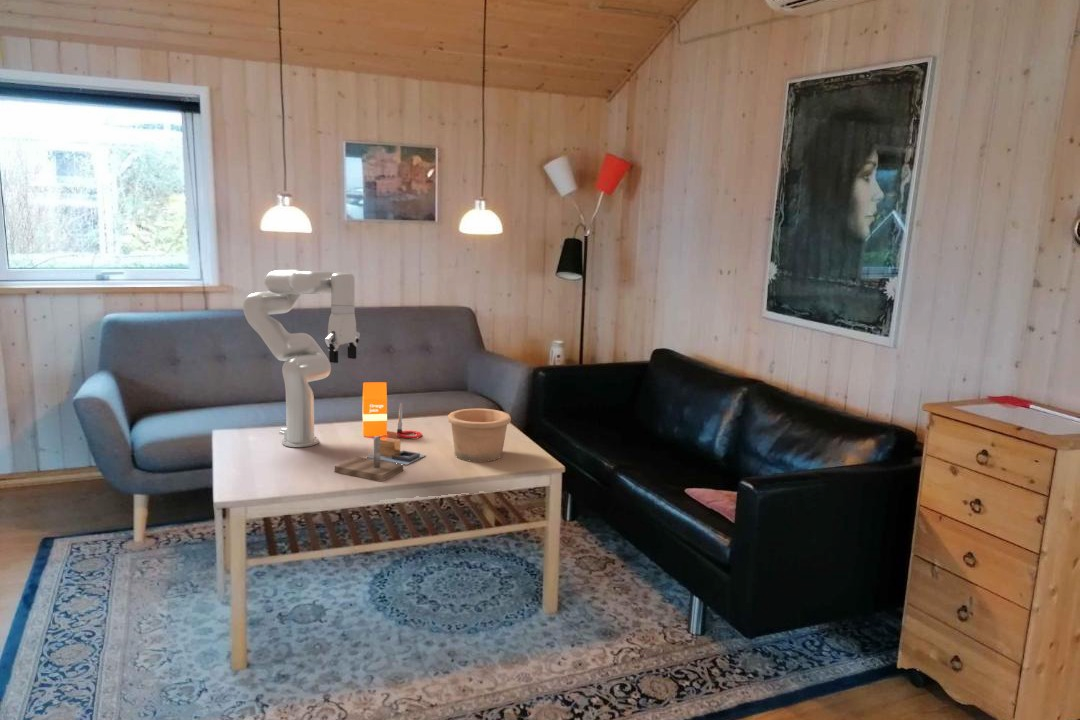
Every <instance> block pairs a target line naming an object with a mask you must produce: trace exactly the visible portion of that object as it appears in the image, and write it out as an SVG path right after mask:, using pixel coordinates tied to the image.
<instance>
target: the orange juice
mask: <svg viewBox="0 0 1080 720" xmlns="http://www.w3.org/2000/svg"><path fill="white" fill-rule="evenodd" d="M387 391H388V390H387V381H386V382H384V381H383V382H379V381H378V382H377V381H376V382H375V381H374V382H363V383H362V437H363V436H366V437H374V436H380V435H381V436H380V437H384V436H383V435H387V436H388V433H387V432H388V427H387V426H388V395H387V393H388V392H387Z"/></svg>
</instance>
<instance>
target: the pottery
mask: <svg viewBox="0 0 1080 720" xmlns="http://www.w3.org/2000/svg"><path fill="white" fill-rule="evenodd" d="M447 420H448V423H450V424H451V431H452V440H453V447H454V449H453V450H454V455H455V457H456V456H457V457H456V458H458V459H459V458H461V459H460V460H462V459H464V460H463V461H465V460H470V461H469V462H471V461H488V460H489V461H488V462H491V461H490V460H493V461H495V460H494V459H497V458H499V457H500V458H501V457H502V456H503V451H504V445H505V438H506V432H507V428H508V425H509V424H510V422H511V420H512V417H511V415H510V414H509V413H507V412H505V411H502V410H496V409H491V408H477V407H476V408H463V409H458V410H454V411H451V412H450V413H449V414H448V415H447ZM501 455H502V456H501ZM500 458H499V459H500ZM497 460H498V459H497Z"/></svg>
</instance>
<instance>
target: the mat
mask: <svg viewBox="0 0 1080 720" xmlns="http://www.w3.org/2000/svg"><path fill="white" fill-rule="evenodd" d="M401 451H402V450H400V452H401ZM403 456H404V457H409V456H405V455H403ZM424 456H425V457H426V454H421V453H420V457H418V458H416V459H414V460H412V461H410V462H406V461H400V460H395V459H392V457H388V456H382V455H380V461H385V462H390V463H397V464H403V466H405V465H407V464H409V463H411V462H413V463H415V462H417V461H419V460H421V459H423V458H425V457H424ZM422 457H423V458H422ZM366 458H369V459H374V453H373V454H371V455H369V456H366ZM420 458H421V459H420ZM418 459H419V460H418ZM416 460H417V461H416ZM414 461H415V462H414ZM411 464H412V463H411ZM409 465H410V464H409ZM407 466H408V465H407Z"/></svg>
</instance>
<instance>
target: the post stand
mask: <svg viewBox="0 0 1080 720" xmlns="http://www.w3.org/2000/svg"><path fill="white" fill-rule="evenodd" d="M380 438H381V436H373V454H374V459H369V458H367V457H362V456H356V457H353V458H350V459H348V460H346V461H343V462H341V463H339V464H336V465H334V473H336V474H337V473H339V474H342V475H348V476H352V477H359V478H362V479H367V480H368V479H369V480H373V481H378V482H383V481H385V480H387V479H389V478H391V477H393V476H395V475H397V474H399V473H401V472H403V471H404V465H401V464H396V463H390V462H385V461H380Z"/></svg>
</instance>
